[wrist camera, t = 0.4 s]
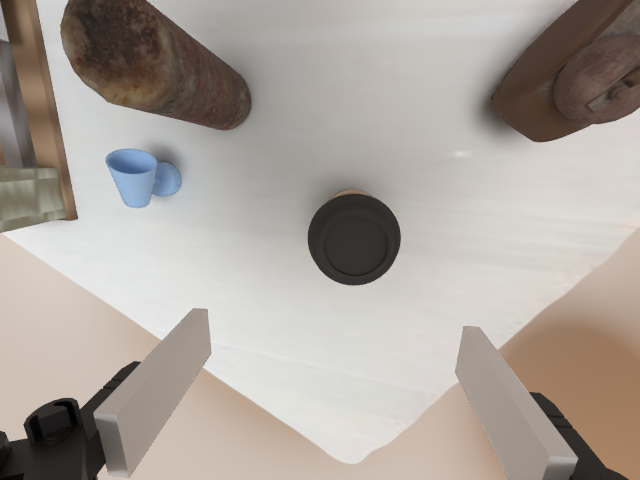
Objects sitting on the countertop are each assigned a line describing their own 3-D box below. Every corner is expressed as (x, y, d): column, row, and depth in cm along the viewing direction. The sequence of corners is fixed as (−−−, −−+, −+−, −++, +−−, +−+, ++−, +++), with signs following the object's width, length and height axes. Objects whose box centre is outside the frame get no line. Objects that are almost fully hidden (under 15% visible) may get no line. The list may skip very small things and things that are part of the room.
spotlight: (155, 144, 41) (144, 191, 43) (97, 142, 31) (87, 203, 33) (189, 159, 41) (177, 205, 43) (142, 161, 32) (129, 220, 34)
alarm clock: (506, 152, 38) (672, 153, 19) (463, 114, 37) (591, 75, 18) (607, 45, 34) (949, -94, 15) (562, 0, 33) (861, -208, 14)
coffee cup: (316, 243, 43) (302, 289, 29) (320, 178, 41) (306, 194, 26) (380, 248, 43) (398, 297, 28) (388, 183, 40) (412, 201, 26)
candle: (232, 53, 37) (112, -50, 18) (265, 108, 39) (187, 66, 19) (185, 90, 39) (30, 31, 20) (219, 141, 40) (105, 133, 21)
